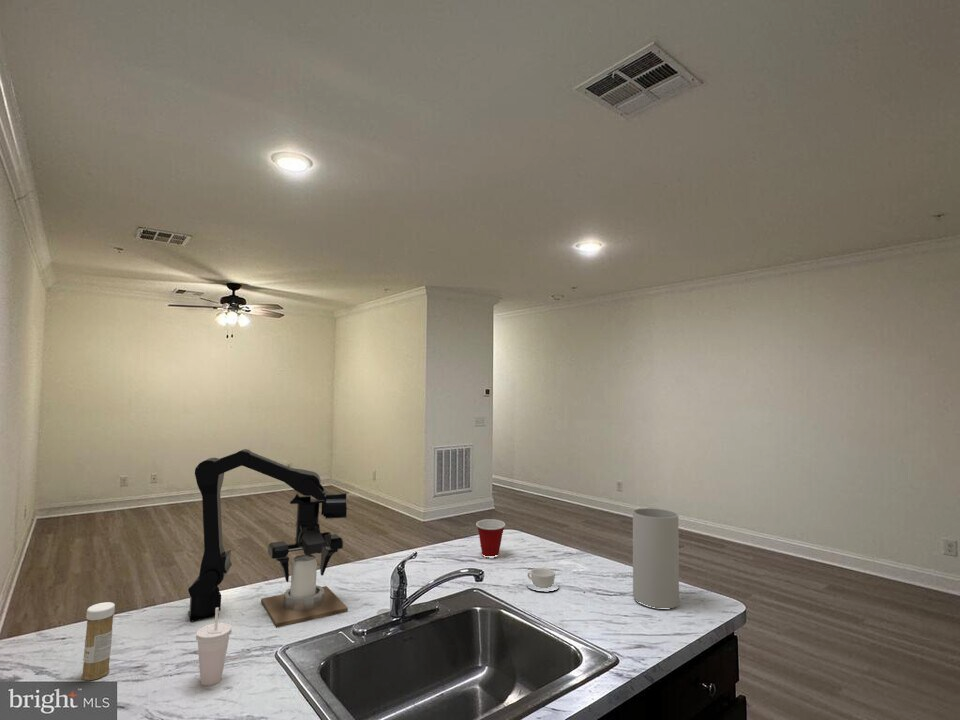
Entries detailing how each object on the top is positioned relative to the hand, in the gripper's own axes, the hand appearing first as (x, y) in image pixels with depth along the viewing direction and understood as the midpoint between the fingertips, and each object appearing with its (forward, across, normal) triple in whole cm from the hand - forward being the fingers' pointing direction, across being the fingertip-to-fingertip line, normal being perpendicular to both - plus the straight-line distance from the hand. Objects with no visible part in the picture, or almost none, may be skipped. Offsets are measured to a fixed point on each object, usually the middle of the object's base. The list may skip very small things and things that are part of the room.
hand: (304, 578), depth 136 cm
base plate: (+8, 0, 0) cm, 8 cm away
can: (+7, 0, 0) cm, 7 cm away
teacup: (+8, +66, -22) cm, 70 cm away
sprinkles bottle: (+8, -44, -12) cm, 46 cm away
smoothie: (+8, -25, -26) cm, 37 cm away
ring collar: (+8, 0, 0) cm, 8 cm away
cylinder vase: (+8, +86, -48) cm, 99 cm away
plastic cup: (+8, +69, +10) cm, 70 cm away
